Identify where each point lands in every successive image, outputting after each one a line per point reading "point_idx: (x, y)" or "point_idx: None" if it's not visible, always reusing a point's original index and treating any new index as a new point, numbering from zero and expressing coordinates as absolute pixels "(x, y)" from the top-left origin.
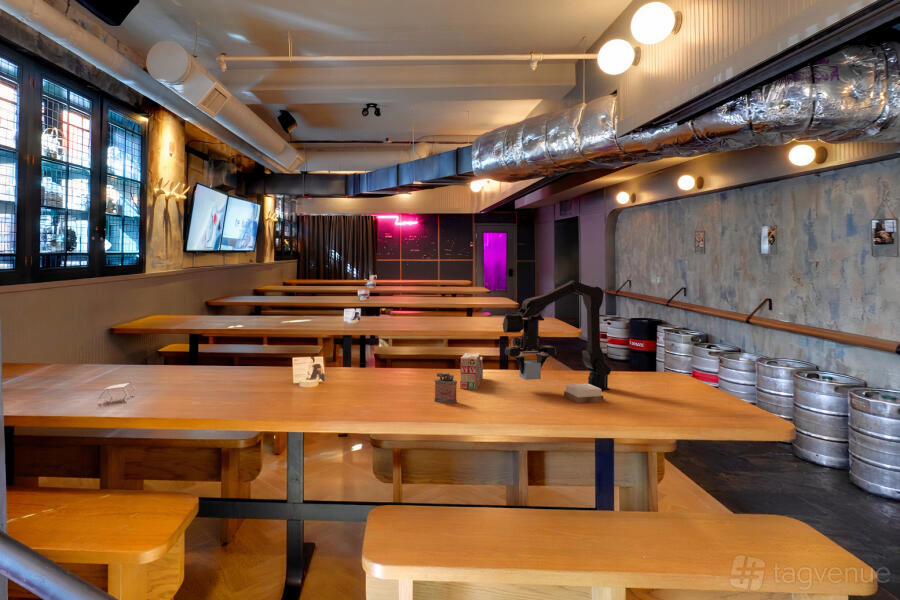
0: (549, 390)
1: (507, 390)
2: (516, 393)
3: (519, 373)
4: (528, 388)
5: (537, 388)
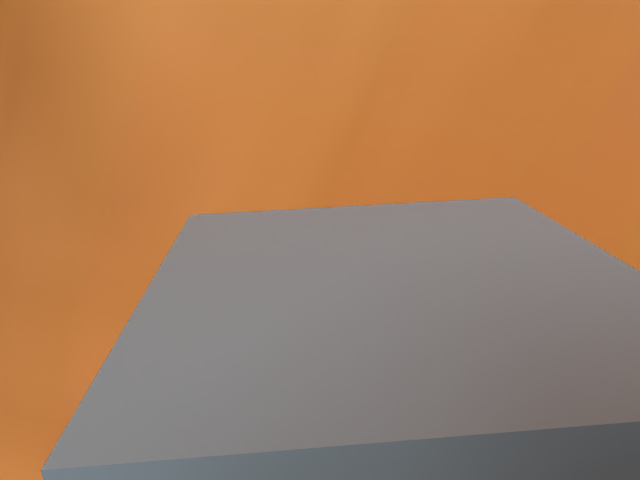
0: (592, 241)
1: (52, 144)
2: None
3: (177, 245)
4: (391, 83)
5: (510, 108)
